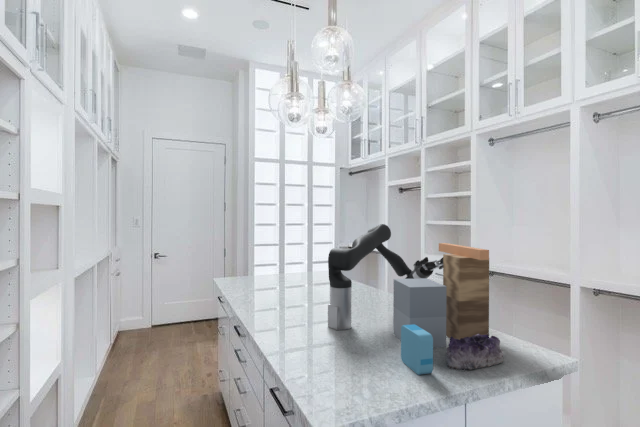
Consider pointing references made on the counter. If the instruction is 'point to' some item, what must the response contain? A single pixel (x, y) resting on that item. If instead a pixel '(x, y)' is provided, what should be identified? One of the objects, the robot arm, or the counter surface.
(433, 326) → the low stand
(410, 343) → the blue flat block
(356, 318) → the counter surface
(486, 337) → the geode
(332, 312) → the robot arm
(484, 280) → the tall tower
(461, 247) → the bar
